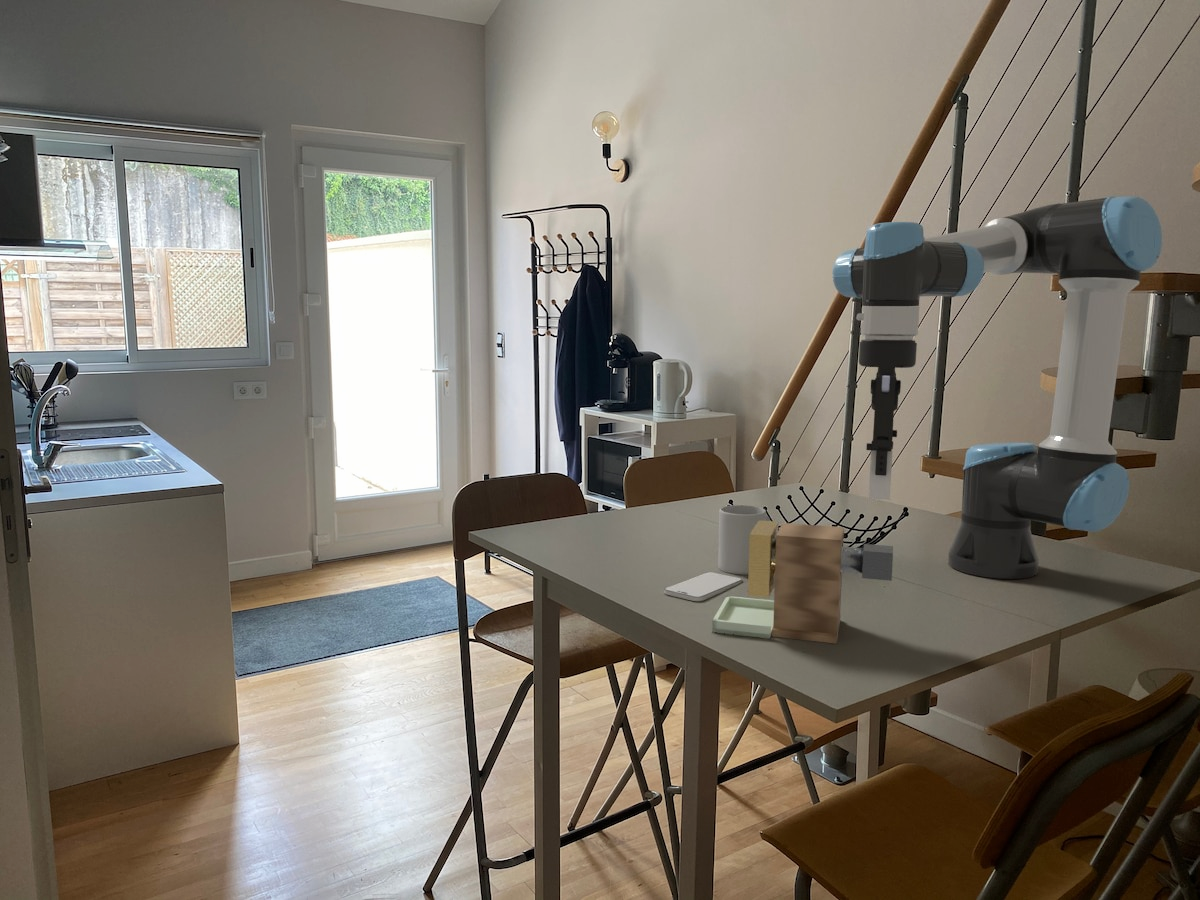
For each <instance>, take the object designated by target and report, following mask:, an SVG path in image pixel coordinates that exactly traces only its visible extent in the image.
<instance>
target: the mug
mask: <svg viewBox="0 0 1200 900" xmlns="http://www.w3.org/2000/svg"><path fill="white" fill-rule="evenodd" d="M718 513H719V516H718V550H717V551H718V555H717V567H718V569H719V570H720V571H722V572H725V573H727V574H731V575H732V574H733V575H744V576H745V575H748V576H749V540H750V533H751V531H752V530H753V528H754V527H755V525H756V524H757V522H758V521H759V520H761V521H771V519H770V516H768V514H767V511H766V509H765V508H763V507H759V506H755V505H746V504H745V505H744V504H734V505H733V504H731V505H726V506H722V507H721V508H719V511H718Z"/></svg>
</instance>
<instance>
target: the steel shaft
mask: <svg viewBox="0 0 1200 900" xmlns="http://www.w3.org/2000/svg"><path fill="white" fill-rule="evenodd" d="M775 557H776V541H774V543H773V545H772V565H771V566H775ZM893 557H894V546H893V545H881V544H870V543H869V544H868V543H863V547H854V546H853V547H850V546H843V547H841V568H840V571H841V572H842V573H854V574H855V573H856V574H862V575H861V578H862V579H867V580H881V581H892V580H893V578H892V577H893V562H894V561H893Z"/></svg>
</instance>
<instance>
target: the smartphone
mask: <svg viewBox="0 0 1200 900" xmlns="http://www.w3.org/2000/svg"><path fill="white" fill-rule="evenodd" d="M742 582H743V579H742V578H740V577H737V576H731V575H727V574H722V573H718V572H711V571H710V572H709V571H708V572H704V573H701V574H699V575H697V576H693V577H692V578H688V579H686V580H683V581H680V582H678V583H675V584H673V585H669V586H667V587H665V588H664V594H665V595H667V596H669V597H675V598H679V599H684V600H686V601H687V600H688V601H693V602H703V601H705V600H707V599H710V598H711V597H714V596H716V595H719V594H720V593H723V592H724V591H727V590H729V589H731V588H733V587H735V586H737V585H739V584H742Z"/></svg>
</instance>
